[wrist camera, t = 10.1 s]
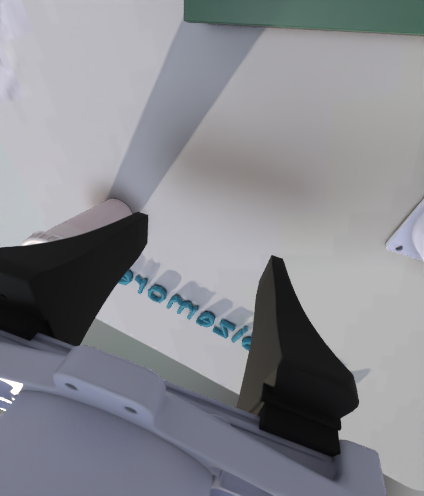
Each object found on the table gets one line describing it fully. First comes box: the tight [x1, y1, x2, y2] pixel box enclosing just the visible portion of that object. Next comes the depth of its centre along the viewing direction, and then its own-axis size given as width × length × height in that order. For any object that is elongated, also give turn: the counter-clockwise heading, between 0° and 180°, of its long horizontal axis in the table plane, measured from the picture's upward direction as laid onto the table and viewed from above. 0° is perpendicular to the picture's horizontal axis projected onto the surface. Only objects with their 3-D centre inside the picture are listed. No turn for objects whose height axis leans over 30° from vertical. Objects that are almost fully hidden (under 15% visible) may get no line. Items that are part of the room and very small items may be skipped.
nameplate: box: [118, 270, 252, 350], centre depth 35 cm, size 37×1×5 cm
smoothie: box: [21, 199, 132, 246], centre depth 23 cm, size 6×6×14 cm
